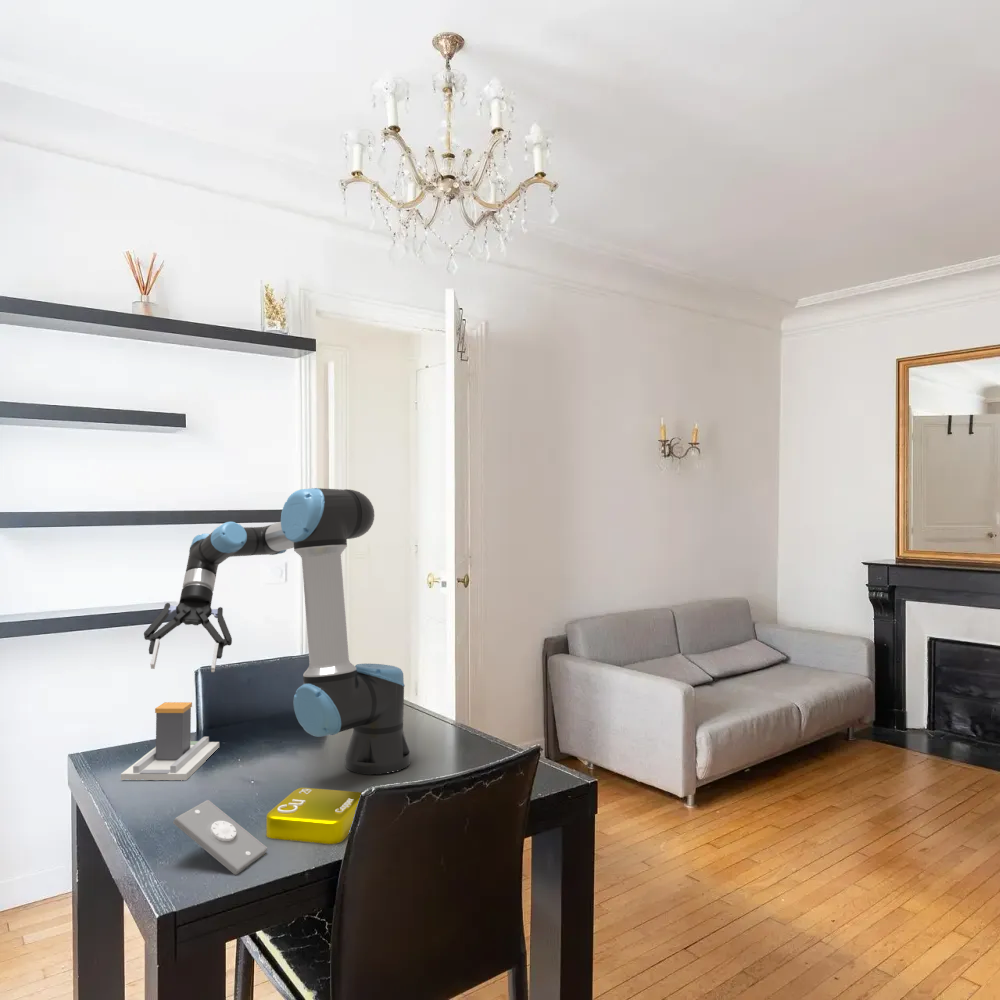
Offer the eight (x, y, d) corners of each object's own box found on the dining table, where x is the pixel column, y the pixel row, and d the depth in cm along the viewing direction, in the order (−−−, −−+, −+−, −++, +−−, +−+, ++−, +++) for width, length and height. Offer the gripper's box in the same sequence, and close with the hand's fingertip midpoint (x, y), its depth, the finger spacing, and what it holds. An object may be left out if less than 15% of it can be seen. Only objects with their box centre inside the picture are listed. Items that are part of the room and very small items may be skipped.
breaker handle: (182, 760, 175) (183, 708, 175) (154, 760, 175) (155, 708, 175) (191, 752, 181) (192, 702, 181) (163, 752, 180) (164, 702, 180)
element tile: (339, 847, 137) (339, 820, 137) (261, 840, 140) (262, 813, 140) (368, 813, 152) (368, 789, 152) (297, 807, 154) (297, 783, 154)
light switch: (240, 865, 125) (176, 813, 129) (225, 894, 126) (162, 841, 130) (270, 843, 134) (210, 794, 137) (256, 870, 134) (196, 821, 138)
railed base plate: (185, 780, 167) (186, 766, 167) (120, 780, 166) (121, 766, 166) (219, 748, 189) (219, 735, 189) (161, 747, 188) (162, 735, 188)
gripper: (247, 601, 202) (236, 677, 190) (146, 593, 195) (127, 671, 183) (249, 587, 196) (237, 665, 184) (144, 578, 189) (125, 658, 177)
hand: (182, 668), depth 183 cm, fingers open, 13 cm apart
